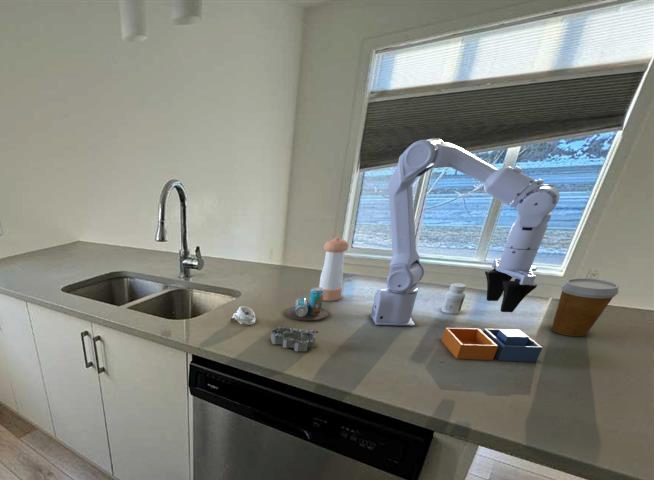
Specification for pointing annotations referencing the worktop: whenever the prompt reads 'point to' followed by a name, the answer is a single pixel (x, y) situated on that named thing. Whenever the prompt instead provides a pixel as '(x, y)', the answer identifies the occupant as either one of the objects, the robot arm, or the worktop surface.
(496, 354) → the blue bin
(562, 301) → the disposable coffee cup
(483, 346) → the amber bin
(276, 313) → the worktop surface
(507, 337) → the blue block
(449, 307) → the pill bottle
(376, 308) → the robot arm
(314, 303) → the round serving tray
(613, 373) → the worktop surface
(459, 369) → the worktop surface
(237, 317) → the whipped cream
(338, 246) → the pepper shaker
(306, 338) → the egg carton
